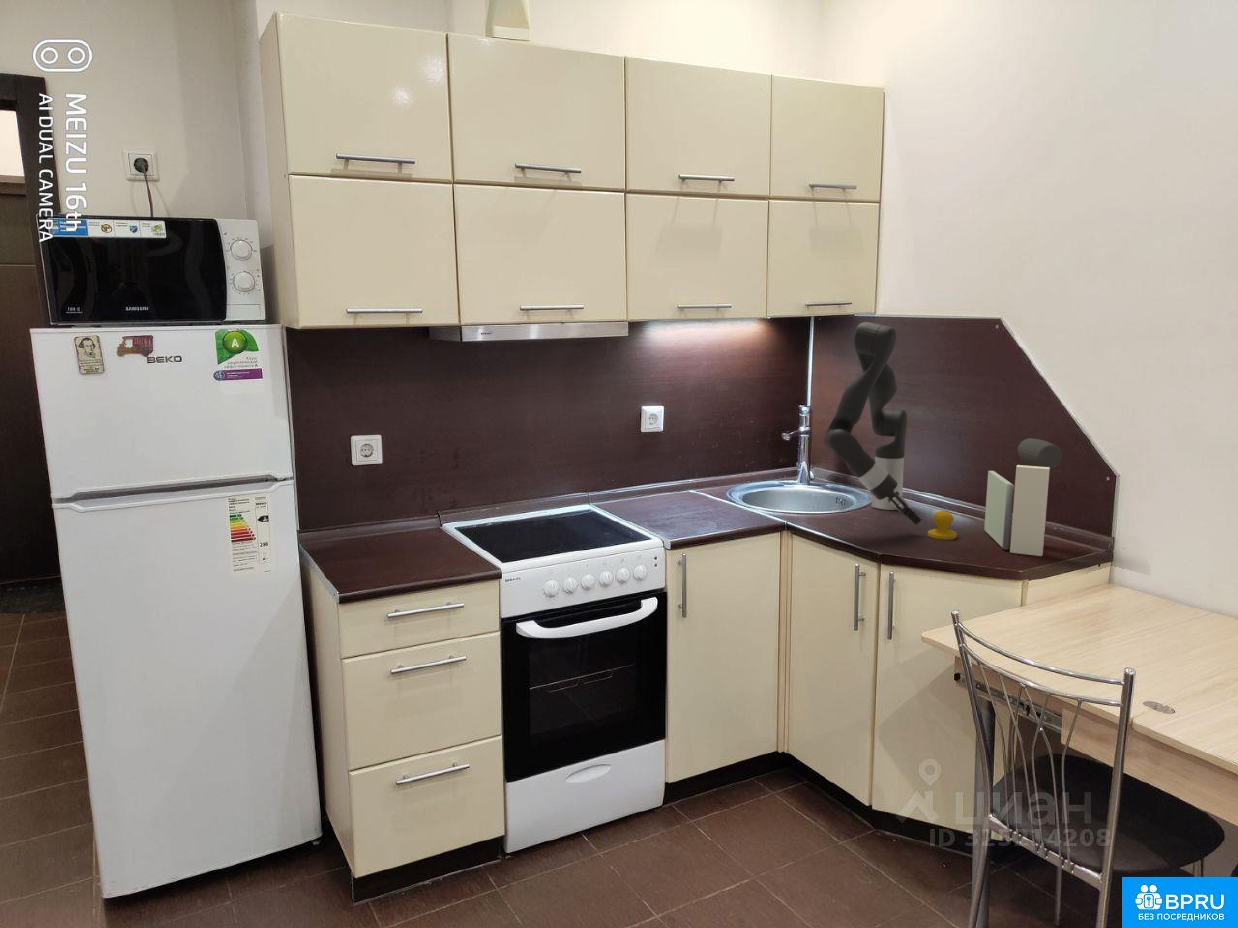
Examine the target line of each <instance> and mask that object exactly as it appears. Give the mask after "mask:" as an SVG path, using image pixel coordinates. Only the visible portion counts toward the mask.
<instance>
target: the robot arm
mask: <svg viewBox="0 0 1238 928" xmlns="http://www.w3.org/2000/svg"><path fill="white" fill-rule="evenodd" d="M896 340H897V331H896V330H895V328H893V326H887V325H883V324H879V323H874V322H869V321H864V322H861V323H859V325H857V327H856V329H855V331H854V336H853V345H854V351H855V352H856V355H857V358H858V360H859V364H860V366H861V370H862V374H861V375H859V376H858V377H857V378H856V379H854V380H853V381H852V382H851V383H850V384H849V385H848V386H847V387H846V388H845V390H844V391H843V393H842V396H841V398H840V401H839V403H838V404H839V405H838V406H837V409H836V412H835V415H834V417H833V418H832V420H831V422H830V424H829V426H828V428H827V429H826V432H825V435H824V439H823V441H824V442H823V443H824V446H825V448H826V449H827V450H828V451H829V452H830V453H835V454H837V455H838V456H839V457H840V459H842V460H843V462H844V463H846V465H845V466H846V467H847V469H849V470H850V472H851V473H852V474H853V475H855V477H857V479H858V480H859V481H860V483H861V484H862V485H863V486H864V487H865V488H866V489H867V490H868V491H869V492H870V493H871V508H874V509H879V510H885V511H895V510H896V511H897V510H898V512H900V513H902V514H903V516H905V517H908V520H910V521H911V522H912V523H914V525H918V524H919V523H921V521H922V520H921V517H920V516H919V515H918V514H917V513H916V512H914V510H913V508H912V507H910V505H909V503H908V502H907V501H908V500H906V499H905V498H904V497H903V490H904V487H903V486H904V466H905V465H904V464H905V448H906V435H907V434H906V433H907V427H908V426H907V425H908V413H907V411H906V410H905V409H903V408H889V407H885V406H886V405H888V403H889V402H891V400H892V399H893V397H894V396H895V394H896V392H897V388H898V387H897V381H896V375H895V372H894V370H893V368H892V367H891V366H890V364H889V363H888V360H889V359H890V357H891V355H892V352H893V351H894V348H895V345H896V342H897V341H896ZM867 401H868V403H869V408H870V410H869V411H870V419H871V427H872V431H873V434H875V435H877V436H880V437H893V438H894V440H893V441H891V442H890V443H887V444H883V445H880V446H878V447H876V448H875V451H874V452H875V453H874V458H873V457H872V456H871V455H870V454H869V453H868V452H867V451H865V450H864V448H863V447H862V445H861V444H860V443H859V442H858V440H857V439H856V438H855V437H854V436H853V434H852V432H853V428H854V427H855V425H856V424H858V422H859V421H860V419H861V416H862V414H863V412H864V408H865V406H866V403H867Z"/></svg>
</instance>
